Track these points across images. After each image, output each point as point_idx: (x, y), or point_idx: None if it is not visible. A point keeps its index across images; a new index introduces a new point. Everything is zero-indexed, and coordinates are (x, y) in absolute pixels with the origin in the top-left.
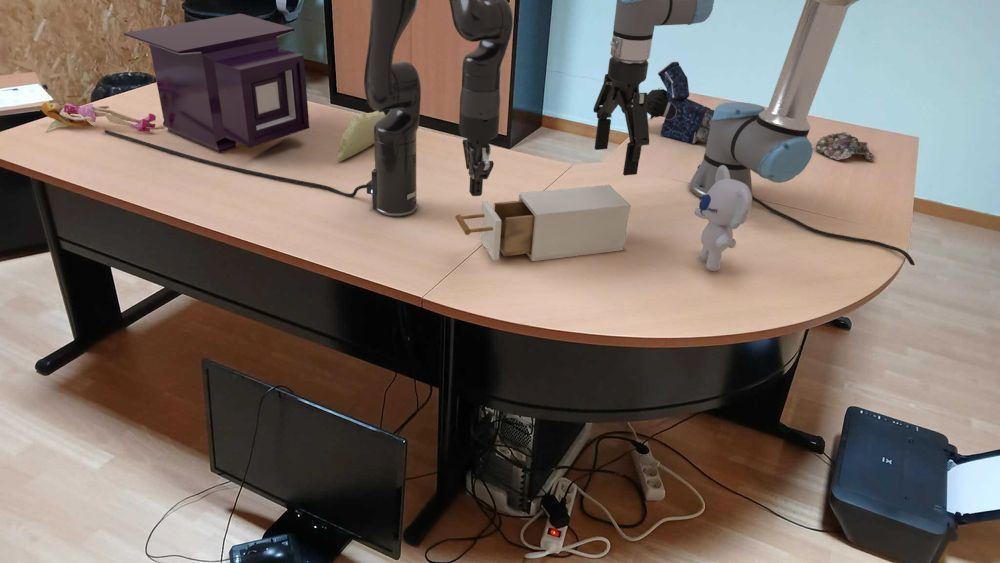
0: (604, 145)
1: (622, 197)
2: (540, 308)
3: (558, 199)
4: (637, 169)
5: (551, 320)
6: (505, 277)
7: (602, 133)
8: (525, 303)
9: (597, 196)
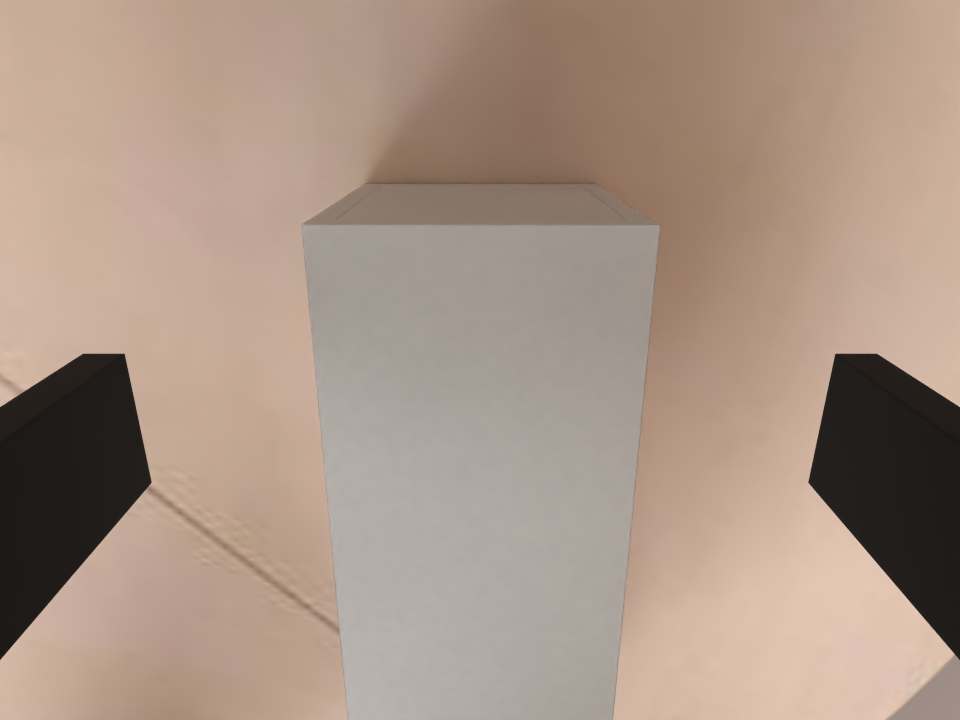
0: (107, 412)
1: (530, 225)
2: (859, 643)
3: (469, 617)
4: (911, 377)
5: (933, 636)
6: (646, 681)
7: (19, 558)
8: (813, 672)
9: (478, 392)
